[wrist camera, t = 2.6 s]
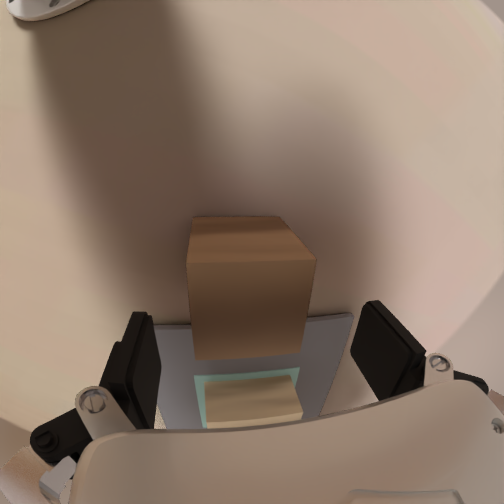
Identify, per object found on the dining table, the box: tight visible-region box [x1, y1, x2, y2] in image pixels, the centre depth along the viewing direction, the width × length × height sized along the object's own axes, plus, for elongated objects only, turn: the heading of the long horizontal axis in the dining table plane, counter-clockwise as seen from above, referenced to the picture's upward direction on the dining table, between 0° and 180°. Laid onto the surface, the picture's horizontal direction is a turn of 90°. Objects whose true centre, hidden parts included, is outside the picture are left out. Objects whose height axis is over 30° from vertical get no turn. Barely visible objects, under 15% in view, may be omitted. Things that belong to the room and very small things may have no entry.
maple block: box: [204, 375, 303, 429], centre depth 20 cm, size 7×7×4 cm
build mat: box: [154, 313, 354, 429], centre depth 22 cm, size 18×16×1 cm
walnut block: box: [186, 216, 317, 360], centre depth 14 cm, size 5×5×6 cm
